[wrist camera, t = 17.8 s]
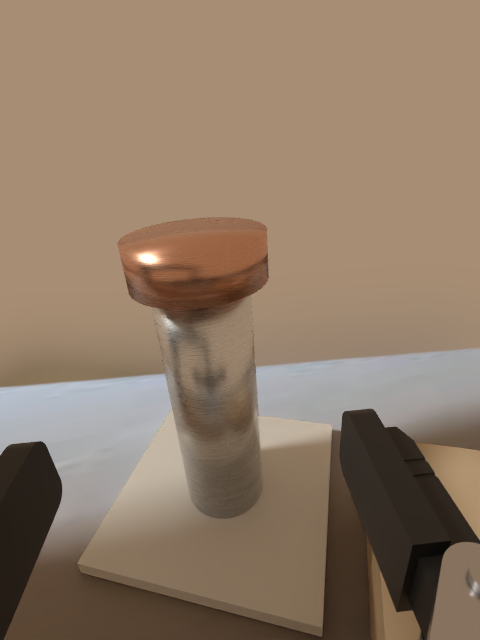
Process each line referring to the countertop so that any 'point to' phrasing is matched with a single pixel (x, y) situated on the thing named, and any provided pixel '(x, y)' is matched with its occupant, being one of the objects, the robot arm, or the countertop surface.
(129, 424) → the countertop surface
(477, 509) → the bore block
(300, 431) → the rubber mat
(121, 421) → the countertop surface
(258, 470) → the copper-capped metal cylinder
